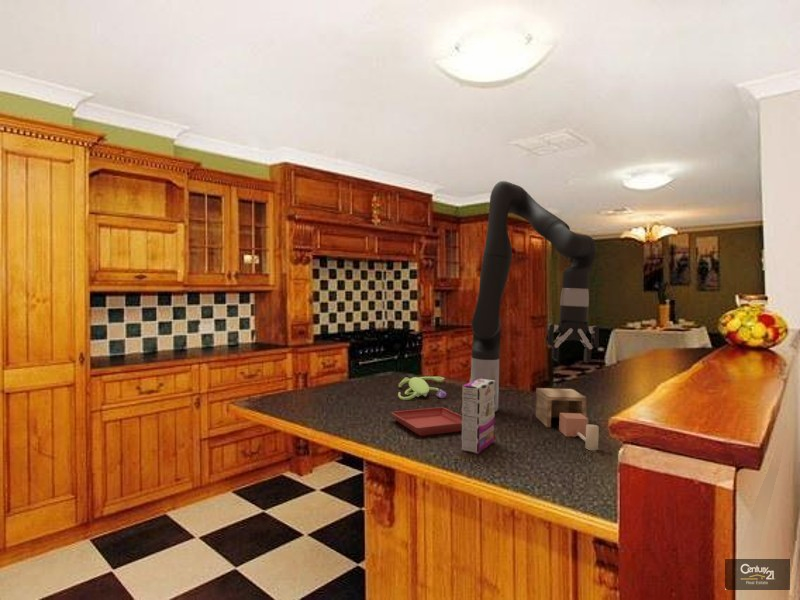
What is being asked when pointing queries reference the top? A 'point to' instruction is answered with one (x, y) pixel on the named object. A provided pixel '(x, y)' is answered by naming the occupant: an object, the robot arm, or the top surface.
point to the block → (579, 429)
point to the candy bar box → (478, 415)
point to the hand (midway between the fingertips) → (571, 361)
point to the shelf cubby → (558, 403)
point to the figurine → (420, 387)
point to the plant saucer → (429, 420)
